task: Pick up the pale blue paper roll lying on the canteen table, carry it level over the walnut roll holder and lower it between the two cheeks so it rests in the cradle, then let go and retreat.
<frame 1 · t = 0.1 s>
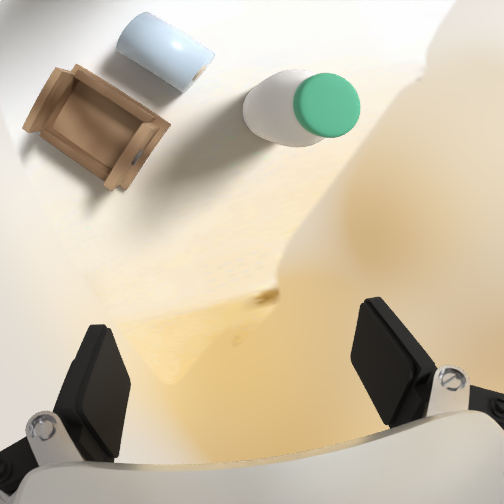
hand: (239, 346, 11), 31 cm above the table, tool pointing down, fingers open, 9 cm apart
holder: (100, 124, 34), on the table
milk bottle: (272, 110, 36), on the table
roll: (168, 55, 32), on the table
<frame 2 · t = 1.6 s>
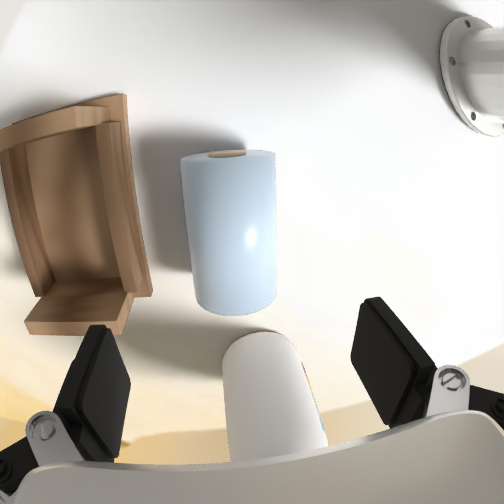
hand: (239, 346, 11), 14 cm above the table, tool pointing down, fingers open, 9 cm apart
holder: (79, 206, 22), on the table
milk bottle: (259, 356, 30), on the table
roll: (229, 215, 24), on the table
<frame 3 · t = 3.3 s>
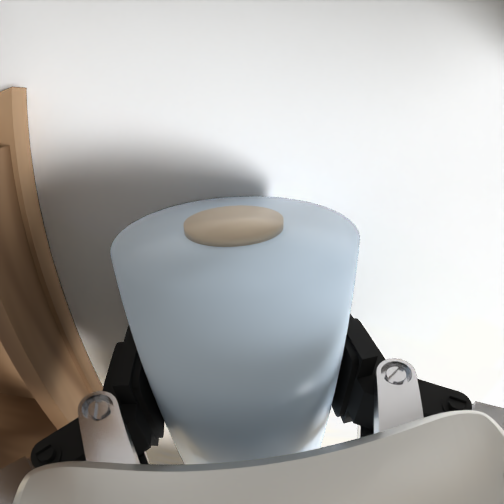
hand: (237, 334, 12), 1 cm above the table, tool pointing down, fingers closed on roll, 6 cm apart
roll: (236, 319, 12), on the table, touching gripper
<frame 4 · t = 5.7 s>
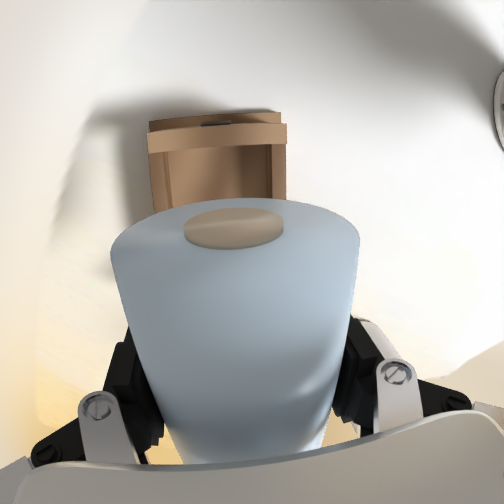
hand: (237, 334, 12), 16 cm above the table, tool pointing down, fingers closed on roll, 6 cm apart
holder: (220, 211, 26), on the table
milk bottle: (351, 344, 34), on the table
roll: (236, 321, 12), point 15 cm above the table, touching gripper
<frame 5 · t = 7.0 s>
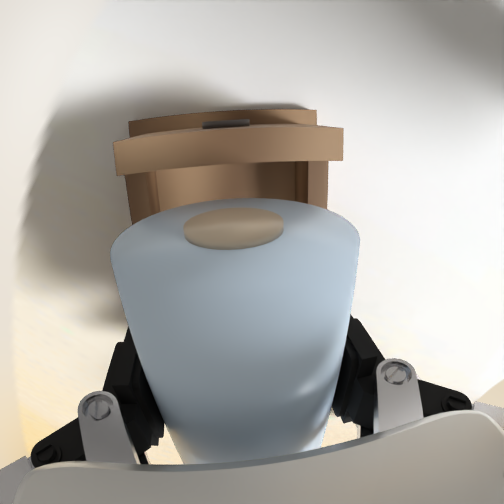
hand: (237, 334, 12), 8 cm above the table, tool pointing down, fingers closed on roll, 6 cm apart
holder: (230, 245, 19), on the table
roll: (236, 321, 12), point 7 cm above the table, touching gripper
when the fingers open (5 cm above the table, at t = 8.2 s): roll drops 3 cm, resting on holder.
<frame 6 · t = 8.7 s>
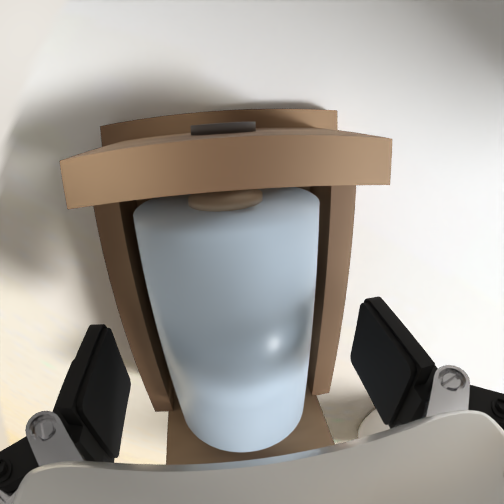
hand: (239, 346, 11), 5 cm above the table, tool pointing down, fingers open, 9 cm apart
holder: (229, 277, 16), on the table
milk bottle: (391, 413, 24), on the table
roll: (233, 286, 15), point 1 cm above the table, touching holder
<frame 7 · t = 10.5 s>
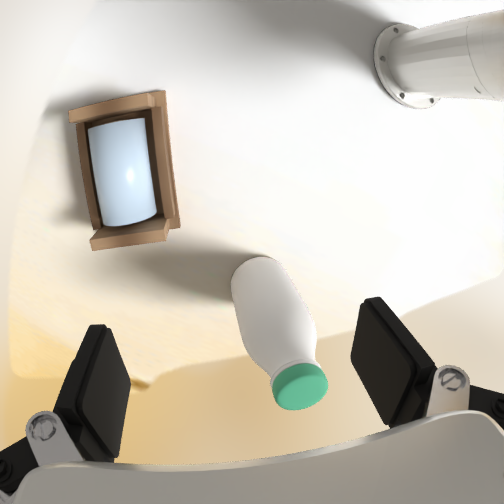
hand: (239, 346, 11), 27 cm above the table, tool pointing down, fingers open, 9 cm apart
holder: (130, 165, 33), on the table
milk bottle: (258, 280, 41), on the table
roll: (129, 166, 32), point 1 cm above the table, touching holder
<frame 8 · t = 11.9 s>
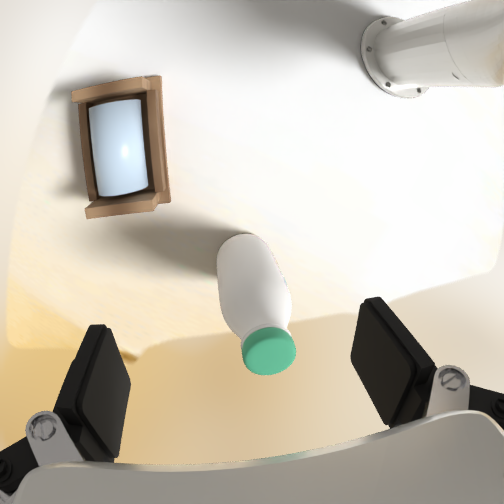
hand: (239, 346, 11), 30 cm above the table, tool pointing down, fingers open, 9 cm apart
holder: (126, 143, 35), on the table
milk bottle: (244, 257, 43), on the table
roll: (125, 144, 34), point 1 cm above the table, touching holder
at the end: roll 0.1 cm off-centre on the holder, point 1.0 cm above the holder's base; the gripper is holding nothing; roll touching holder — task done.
